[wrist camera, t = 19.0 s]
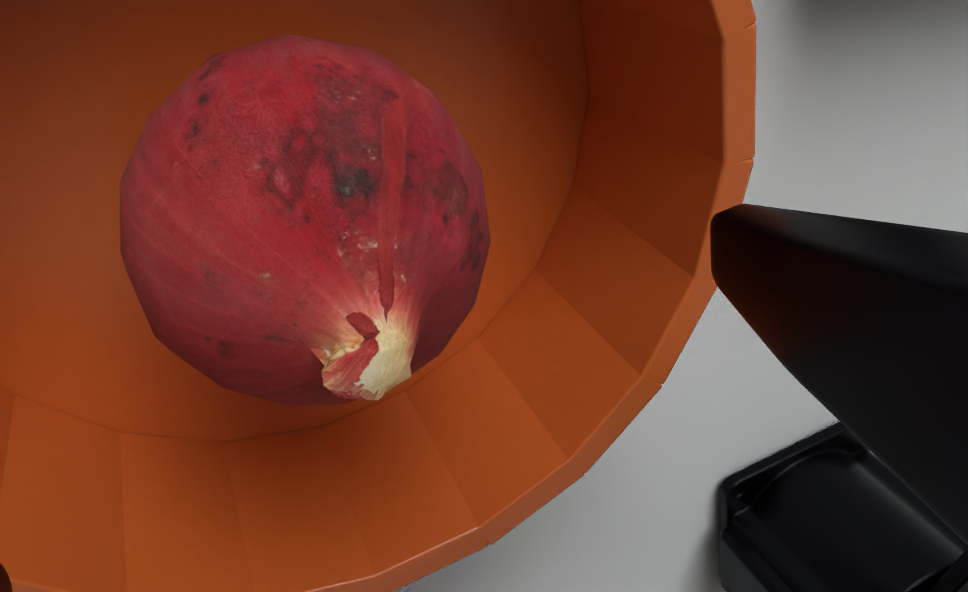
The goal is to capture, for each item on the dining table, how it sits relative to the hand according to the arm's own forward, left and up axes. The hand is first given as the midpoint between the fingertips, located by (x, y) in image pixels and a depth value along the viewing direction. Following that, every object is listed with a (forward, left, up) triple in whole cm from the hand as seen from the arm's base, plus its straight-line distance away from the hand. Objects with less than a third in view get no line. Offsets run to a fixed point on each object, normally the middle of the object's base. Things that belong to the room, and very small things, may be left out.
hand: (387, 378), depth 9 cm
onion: (0, 0, -9) cm, 9 cm away
